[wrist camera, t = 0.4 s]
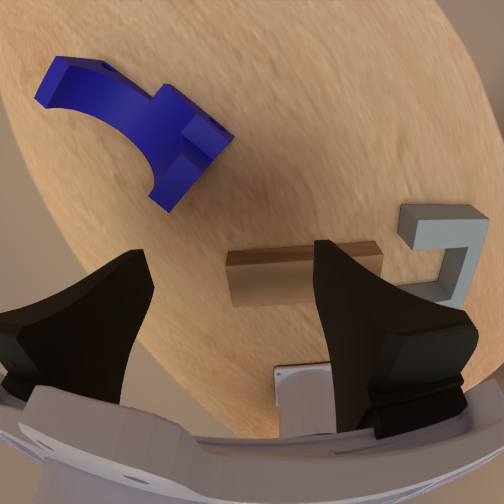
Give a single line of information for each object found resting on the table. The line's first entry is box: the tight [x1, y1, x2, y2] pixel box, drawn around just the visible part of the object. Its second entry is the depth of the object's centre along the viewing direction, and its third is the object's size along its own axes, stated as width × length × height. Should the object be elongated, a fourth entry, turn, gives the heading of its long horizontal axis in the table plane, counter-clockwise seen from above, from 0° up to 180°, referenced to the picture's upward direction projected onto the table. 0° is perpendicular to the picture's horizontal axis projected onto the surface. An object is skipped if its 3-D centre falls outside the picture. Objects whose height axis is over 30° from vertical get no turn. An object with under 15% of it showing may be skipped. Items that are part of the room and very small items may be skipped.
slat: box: [225, 241, 384, 307], centre depth 22 cm, size 4×12×2 cm, turn 96°
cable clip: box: [34, 56, 234, 213], centre depth 14 cm, size 12×4×6 cm, turn 47°
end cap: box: [396, 205, 490, 310], centre depth 21 cm, size 11×8×3 cm
